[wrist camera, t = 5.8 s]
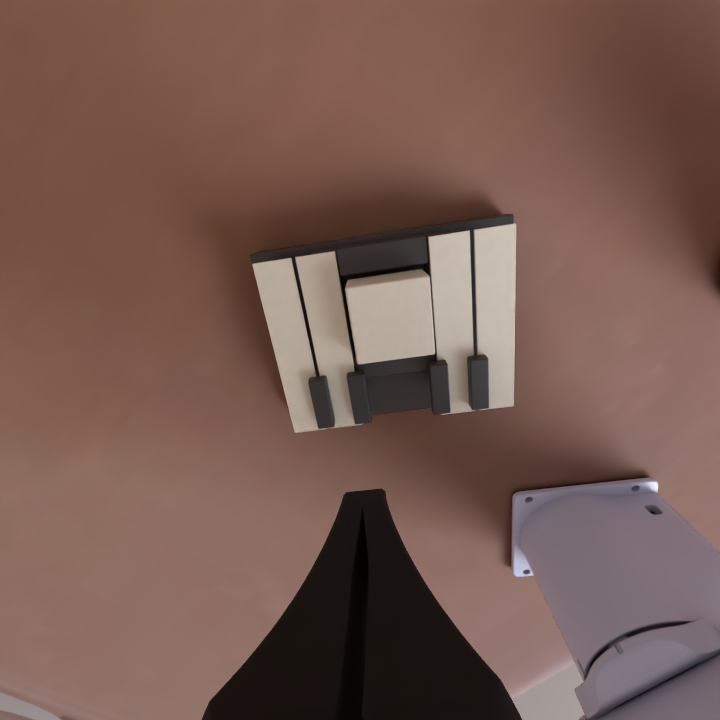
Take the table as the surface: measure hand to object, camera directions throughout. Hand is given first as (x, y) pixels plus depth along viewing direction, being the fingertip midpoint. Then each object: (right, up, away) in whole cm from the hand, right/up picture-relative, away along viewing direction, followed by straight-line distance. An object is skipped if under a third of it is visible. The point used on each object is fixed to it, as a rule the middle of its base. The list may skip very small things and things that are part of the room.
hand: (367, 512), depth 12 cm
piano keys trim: (+1, +6, +5) cm, 8 cm away
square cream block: (+1, +8, +5) cm, 9 cm away
